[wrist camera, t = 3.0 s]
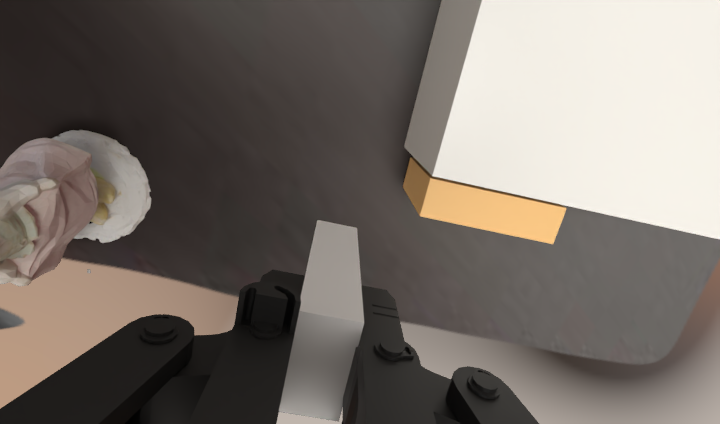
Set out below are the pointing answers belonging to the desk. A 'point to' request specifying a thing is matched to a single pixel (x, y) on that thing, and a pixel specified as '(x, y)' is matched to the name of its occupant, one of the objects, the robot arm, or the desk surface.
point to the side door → (481, 206)
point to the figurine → (65, 200)
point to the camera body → (578, 105)
